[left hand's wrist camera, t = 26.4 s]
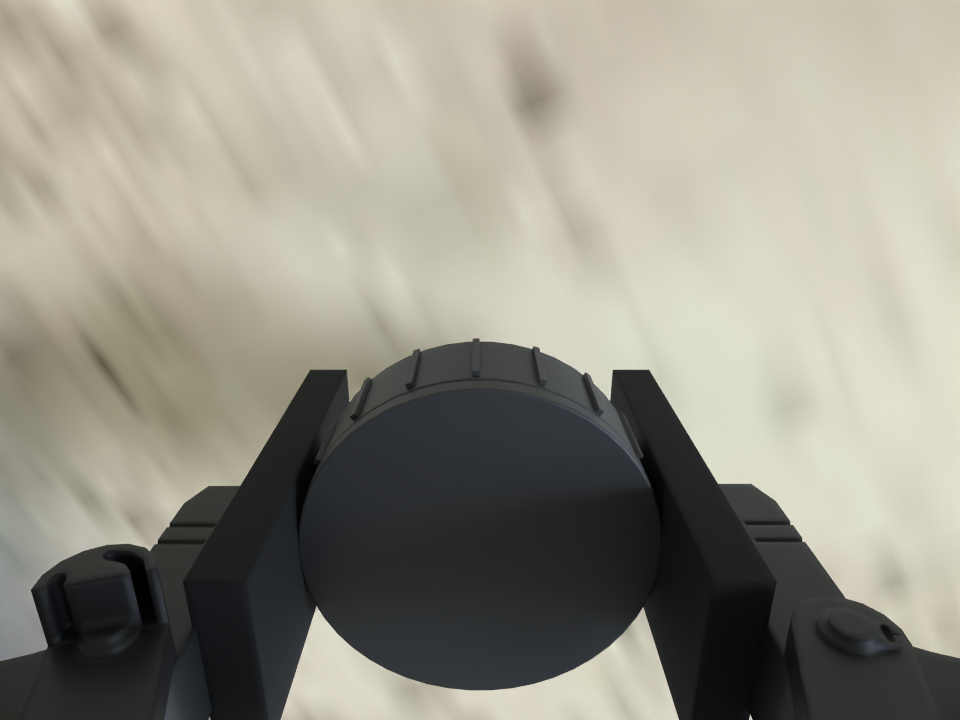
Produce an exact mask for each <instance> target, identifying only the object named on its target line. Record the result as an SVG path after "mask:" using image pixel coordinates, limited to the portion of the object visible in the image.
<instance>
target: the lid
mask: <svg viewBox="0 0 960 720" xmlns="http://www.w3.org/2000/svg"><path fill="white" fill-rule="evenodd" d="M641 458H643V454H642V452H641V450H640V448H639V446H638V443H637V441H636V439H635V437H634V434H633V432H632V430H631V428H630V425H629V423H628V421H627V419H626V417H625V415H624V413H623V412H622V413H620V414H618V412H617V410H616V409H615V408H614V406H613V405H612V404H611V402H610V401H609V400H608V398H607V397H606V396H605V395H604V393H603V392H601V391H600V390H599V389H598V388H597V387H596V386H595V385H594V384H593V381H592V379H591V376H590V375H589V374H587V373H585V374H584V375H582V374H581V373H579V372H578V371H577V370H575V369H574V368H572V367H571V366H569V365H567V364H565V363H563V362H562V361H560V360H558V359H556V358H554V357H552V356H549V355H546V354H544V353H541V352H540V349H539V348H538V347H535V346H533V348H532V349H529V348H525V347H521V346H517V345H513V344H505V343H497V342H479V338H477V339H473V342H463V343H455V344H448V345H443V346H439V347H435V348H431V349H427V350H424V351H422V352H421V351H420V349H417V350H414V351H413V355H412V356H409V357H406V358H404V359H402V360H401V361H399V362H397V363H395V364H393V365H392V366H390V367H388V368H386V369H385V370H384V371H382V372H381V373H380V374H378V375H377V376H376V377H374V378H373V379H372V380H371V379H370V378H369V377H368V378H367V379H365V380H364V382H363V385H362V387H361V390H360V391H359V392H358V393H357V394H356V395H355V396H354V398H353V399H352V400H351V402H350V403H349V404H348V405H347V407H346V408H345V409H344V411H343V413H342V415H341V416H340V418H339V420H336V419H333V421H332V423H331V425H330V427H329V430H328V432H327V434H326V436H325V439H324V441H323V443H322V445H321V448H320V450H319V452H318V454H317V456H316V459H315V461H314V464H315V465H317V466H318V467H317V469H316V472H315V474H314V476H313V478H312V481H311V483H310V486H309V488H308V491H307V494H306V496H305V499H304V502H303V504H302V510H301V515H300V520H299V526H298V542H299V551H300V559H301V567H302V572H303V575H304V579H305V582H306V585H307V587H308V589H309V592H310V594H311V596H312V598H313V600H314V602H315V604H316V606H317V607H318V609H319V610H320V612H321V613H322V615H323V617H324V618H325V619H326V621H327V622H328V623H329V624H330V625H331V626H332V628H333V629H334V630H335V631H336V632H337V634H339V635H340V636H341V637H342V638H343V639H344V640H345V641H346V642H347V643H348V644H349V645H351V646H352V647H353V648H354V649H356V650H357V651H358V652H360V653H361V654H363V655H364V656H365V657H367V658H368V659H370V660H371V661H373V662H375V663H377V664H378V665H380V666H382V667H384V668H386V669H387V670H390V671H392V672H395V673H397V674H399V675H402V676H404V677H406V678H409V679H413V680H416V681H419V682H423V683H426V684H430V685H435V686H440V687H445V688H452V689H463V690H498V689H508V688H515V687H520V686H525V685H530V684H535V683H538V682H541V681H544V680H548V679H551V678H554V677H556V676H559V675H561V674H563V673H566V672H568V671H570V670H573V669H575V668H576V667H578V666H580V665H582V664H584V663H585V662H587V661H589V660H591V659H592V658H594V657H595V656H596V655H598V654H599V653H601V652H602V651H603V650H605V649H606V648H607V647H609V646H610V645H611V644H612V643H613V642H614V641H615V640H616V639H617V638H618V637H620V636H621V635H622V634H623V633H624V632H625V630H626V629H627V628H628V627H629V626H630V624H631V623H632V622H633V621H634V620H635V619H636V617H637V616H638V614H639V612H640V611H641V609H642V608H643V606H644V605H645V603H646V601H647V599H648V597H649V595H650V593H651V590H652V588H653V586H654V584H655V580H656V577H657V571H658V564H659V556H660V548H661V538H662V522H661V517H660V512H659V507H658V503H657V500H656V497H655V495H654V492H653V489H652V487H651V484H650V482H649V480H648V477H647V475H646V473H645V470H644V468H643V466H642V463H641V461H640V459H641Z"/></svg>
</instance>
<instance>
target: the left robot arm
mask: <svg viewBox="0 0 960 720" xmlns="http://www.w3.org/2000/svg"><path fill="white" fill-rule="evenodd" d="M610 402H611V404H612V405H613V406H614V408H615V409H616V410H617V412H618V414H620V413H622V412H623V413H624V415H625V417H626V419H627V421H628V423H629V425H630V428H631V430H632V432H633V434H634V437H635V439H636V441H637V443H638V446H639V448H640V450H641V452H642V454H643V458H641V459H640V461H641V463H642V466H643V468H644V470H645V473H646V475H647V477H648V480H649V482H650V484H651V487H652V489H653V492H654V495H655V497H656V500H657V503H658V507H659V512H660V517H661V522H662V538H661V548H660V556H659V564H658V571H657V577H656V580H655V584H654V586H653V588H652V590H651V593H650V595H649V597H648V599H647V601H646V603H645V605H644V606H643V607H644V610H645V613H646V616H647V619H648V623H649V626H650V629H651V632H652V635H653V638H654V642H655V645H656V648H657V651H658V654H659V657H660V661H661V664H662V667H663V670H664V673H665V676H666V680H667V683H668V686H669V689H670V692H671V695H672V699H673V702H674V705H675V708H676V711H677V714H678V718H679V720H749V716H750V714H751V717H752V719H753V720H960V658H955V657H951V656H947V655H942V654H938V653H933V652H929V651H926V650H923V649H919V648H916V647H913V646H912V644H911V643H910V641H909V640H908V638H907V637H906V635H905V634H904V632H903V631H902V629H901V628H899V627H898V626H897V625H896V624H894V623H893V622H892V621H891V620H890V619H888V618H887V617H886V616H885V615H883V614H882V613H880V612H878V611H876V610H874V609H872V608H870V607H868V606H866V605H864V604H862V603H859V602H855V601H852V600H848V599H846V598H845V597H844V595H843V594H842V593H841V591H840V590H839V589H838V587H837V586H836V584H835V583H834V582H833V580H832V579H831V577H830V576H829V575H828V573H827V572H826V570H825V569H824V568H823V566H822V565H821V564H820V562H819V561H818V559H817V558H816V557H815V555H814V554H813V552H812V551H811V550H810V548H809V547H808V545H807V544H806V543H805V542H802V537H801V536H800V534H799V533H798V532H797V530H796V529H795V527H794V526H793V525H790V520H789V519H788V518H787V516H786V515H785V513H784V512H783V511H782V509H781V508H780V506H779V505H778V504H777V502H776V501H775V500H773V499H772V498H770V497H769V496H768V495H766V494H765V493H763V492H762V491H760V490H759V489H758V488H756V487H755V486H753V485H752V484H718V483H717V482H716V480H715V478H714V477H713V475H712V473H711V472H710V470H709V468H708V467H707V465H706V463H705V462H704V460H703V458H702V457H701V455H700V453H699V452H698V450H697V449H696V447H695V445H694V444H693V442H692V440H691V439H690V437H689V435H688V434H687V432H686V430H685V429H684V427H683V425H682V424H681V422H680V420H679V419H678V417H677V415H676V414H675V412H674V410H673V409H672V407H671V405H670V404H669V402H668V400H667V399H666V397H665V396H664V394H663V392H662V391H661V389H660V387H659V386H658V384H657V382H656V381H655V379H654V377H653V376H652V374H651V372H650V371H649V370H613V375H612V387H611V400H610ZM348 404H349V393H348V380H347V370H310V372H309V373H308V375H307V377H306V378H305V380H304V382H303V383H302V385H301V387H300V388H299V390H298V391H297V393H296V395H295V396H294V398H293V400H292V401H291V403H290V405H289V406H288V408H287V410H286V411H285V413H284V415H283V416H282V418H281V420H280V421H279V423H278V425H277V426H276V428H275V430H274V431H273V433H272V435H271V436H270V438H269V439H268V441H267V443H266V444H265V446H264V448H263V449H262V451H261V453H260V454H259V456H258V458H257V459H256V461H255V463H254V464H253V466H252V468H251V469H250V471H249V473H248V474H247V476H246V478H245V479H244V481H243V483H242V484H241V486H208V487H207V488H205V489H204V490H203V491H201V492H200V493H198V494H197V495H195V496H194V497H193V498H191V499H190V500H188V501H187V502H186V503H184V504H183V506H182V507H181V509H180V510H179V511H178V513H177V514H176V516H175V517H174V518H173V520H172V521H171V523H170V527H167V528H166V530H165V531H164V532H163V534H162V535H161V537H160V538H159V539H158V544H155V545H154V546H153V548H152V549H151V551H149V550H147V549H146V548H144V547H140V546H136V545H131V544H117V545H105V546H102V547H98V548H94V549H90V550H86V551H83V552H81V553H79V554H76V555H74V556H72V557H70V558H68V559H65V560H63V561H61V562H60V563H58V564H57V565H56V566H54V567H53V568H51V569H50V570H49V571H47V572H46V573H45V574H43V575H42V576H41V578H40V579H39V580H38V581H37V583H36V584H35V585H34V587H33V588H32V589H31V592H32V595H33V599H34V602H35V605H36V608H37V612H38V615H39V618H40V621H41V625H42V628H43V631H44V634H45V638H46V641H47V644H48V648H47V650H44V651H40V652H37V653H34V654H30V655H26V656H21V657H17V658H13V659H8V660H4V661H0V720H208V719H209V717H210V719H211V720H280V719H281V716H282V713H283V710H284V707H285V704H286V700H287V697H288V694H289V691H290V688H291V685H292V681H293V678H294V675H295V672H296V669H297V666H298V662H299V659H300V656H301V653H302V650H303V647H304V643H305V640H306V637H307V634H308V631H309V628H310V625H311V621H312V618H313V615H314V612H315V609H316V604H315V602H314V600H313V598H312V596H311V594H310V592H309V589H308V587H307V585H306V582H305V579H304V575H303V572H302V567H301V559H300V551H299V542H298V526H299V520H300V515H301V510H302V504H303V502H304V499H305V496H306V494H307V491H308V488H309V486H310V483H311V481H312V478H313V476H314V474H315V472H316V469H317V467H318V466H317V465H315V464H314V461H315V459H316V456H317V454H318V452H319V450H320V448H321V445H322V443H323V441H324V439H325V436H326V434H327V432H328V430H329V427H330V425H331V423H332V421H333V419H336V420H339V418H340V416H341V415H342V413H343V411H344V409H345V408H346V407H347V405H348Z"/></svg>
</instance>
